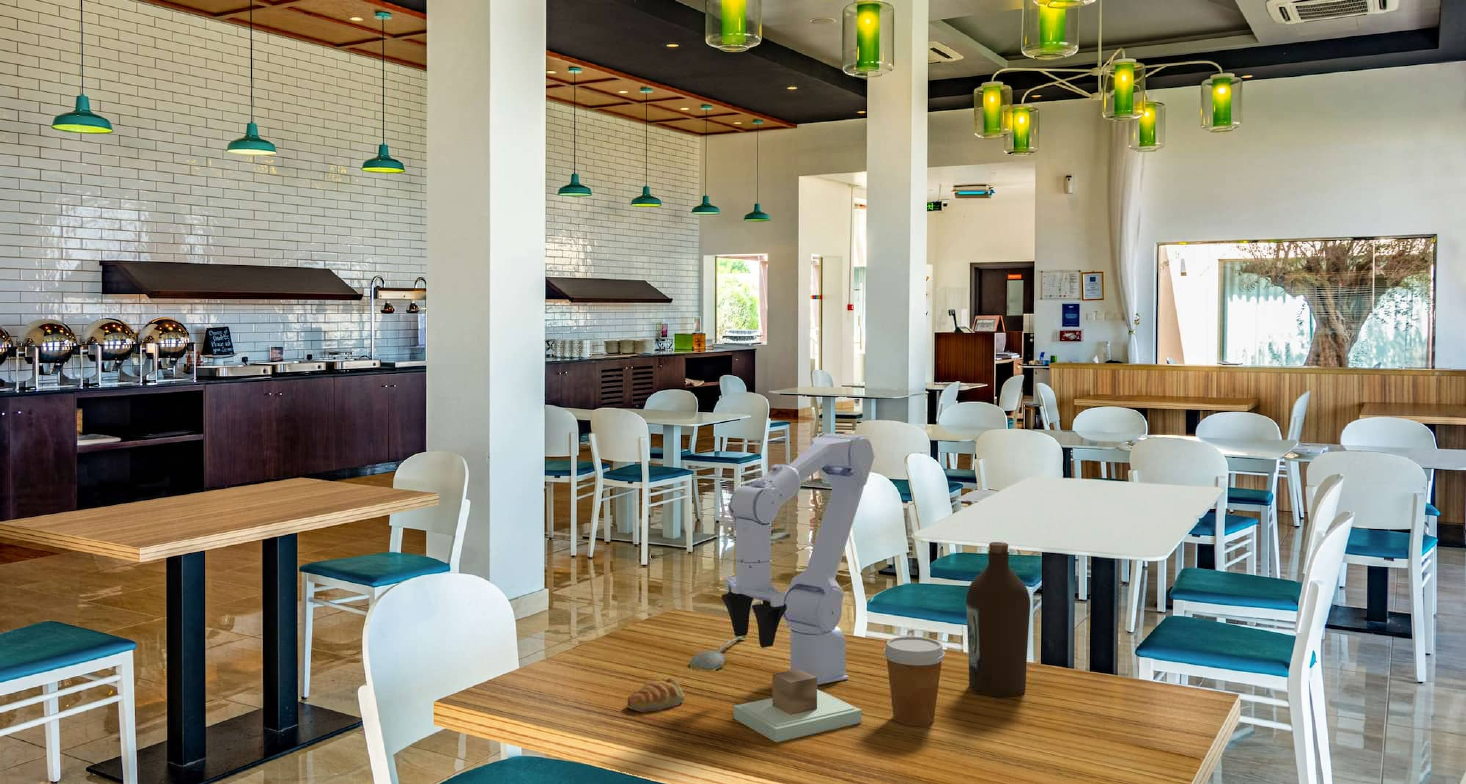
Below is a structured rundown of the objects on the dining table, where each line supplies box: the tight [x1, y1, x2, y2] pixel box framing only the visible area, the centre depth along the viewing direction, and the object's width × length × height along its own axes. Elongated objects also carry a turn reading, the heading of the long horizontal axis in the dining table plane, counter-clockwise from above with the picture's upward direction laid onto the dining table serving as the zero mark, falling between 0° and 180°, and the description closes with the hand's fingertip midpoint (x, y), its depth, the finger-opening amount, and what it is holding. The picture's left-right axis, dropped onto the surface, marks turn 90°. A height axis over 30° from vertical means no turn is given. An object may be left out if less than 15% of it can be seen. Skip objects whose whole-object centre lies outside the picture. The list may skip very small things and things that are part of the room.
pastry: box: [626, 677, 685, 713], centre depth 175 cm, size 9×7×4 cm
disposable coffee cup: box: [883, 635, 946, 727], centre depth 168 cm, size 10×10×12 cm
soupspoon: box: [688, 635, 747, 670], centre depth 204 cm, size 22×3×7 cm
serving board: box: [733, 688, 863, 743], centre depth 168 cm, size 16×12×2 cm
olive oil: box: [965, 541, 1031, 698], centre depth 183 cm, size 11×11×25 cm
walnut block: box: [771, 669, 818, 715], centre depth 168 cm, size 5×5×5 cm
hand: (753, 641), depth 177 cm, fingers open, 7 cm apart
